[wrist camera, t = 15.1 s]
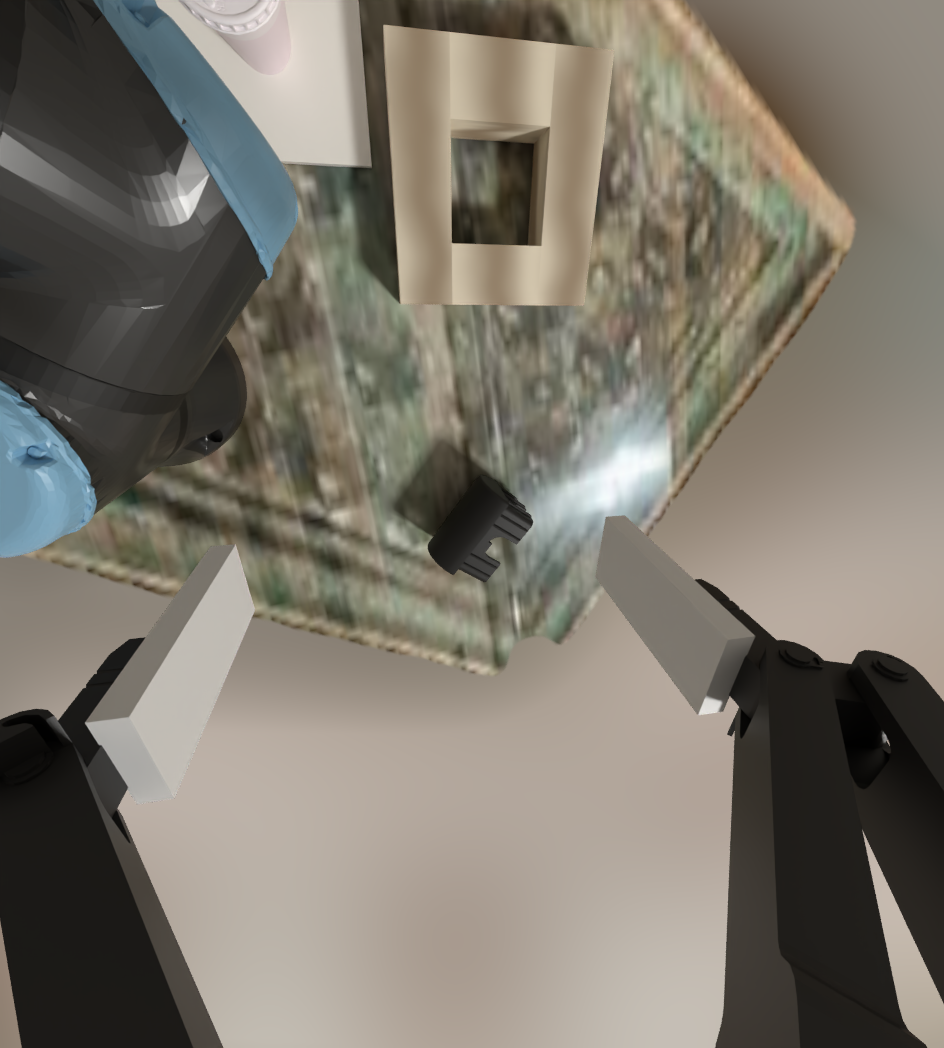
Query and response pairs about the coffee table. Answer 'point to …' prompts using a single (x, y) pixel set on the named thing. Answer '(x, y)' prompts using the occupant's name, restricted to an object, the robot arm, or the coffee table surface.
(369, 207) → the coffee table surface
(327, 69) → the tile
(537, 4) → the coffee table surface
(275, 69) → the smoothie
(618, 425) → the coffee table surface
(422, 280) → the frame
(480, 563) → the end cap
